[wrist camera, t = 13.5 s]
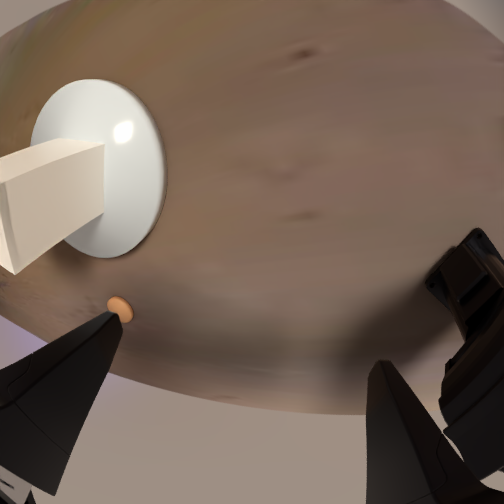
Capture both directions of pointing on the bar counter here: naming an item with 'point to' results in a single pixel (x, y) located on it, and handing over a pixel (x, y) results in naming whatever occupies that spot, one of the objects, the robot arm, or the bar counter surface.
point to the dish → (112, 160)
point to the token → (121, 308)
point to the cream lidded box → (47, 197)
